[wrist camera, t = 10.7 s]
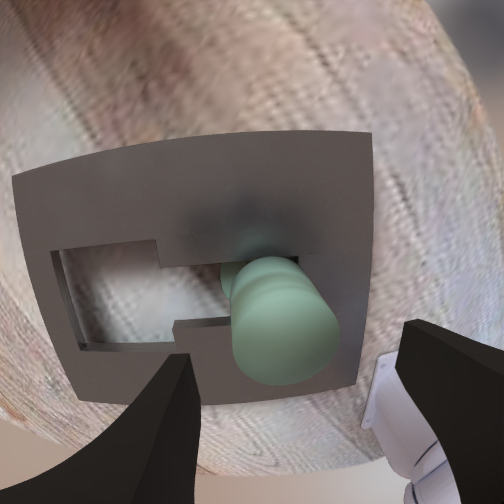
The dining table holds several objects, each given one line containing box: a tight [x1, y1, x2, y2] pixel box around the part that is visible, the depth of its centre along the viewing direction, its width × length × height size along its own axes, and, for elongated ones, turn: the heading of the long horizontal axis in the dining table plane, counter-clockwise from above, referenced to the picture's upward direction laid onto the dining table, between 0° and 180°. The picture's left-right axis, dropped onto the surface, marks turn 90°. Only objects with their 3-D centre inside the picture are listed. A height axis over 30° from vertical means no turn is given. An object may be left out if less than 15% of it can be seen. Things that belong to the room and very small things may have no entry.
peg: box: [220, 256, 340, 386], centre depth 14 cm, size 5×5×8 cm
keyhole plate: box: [12, 130, 374, 405], centre depth 16 cm, size 16×20×3 cm
